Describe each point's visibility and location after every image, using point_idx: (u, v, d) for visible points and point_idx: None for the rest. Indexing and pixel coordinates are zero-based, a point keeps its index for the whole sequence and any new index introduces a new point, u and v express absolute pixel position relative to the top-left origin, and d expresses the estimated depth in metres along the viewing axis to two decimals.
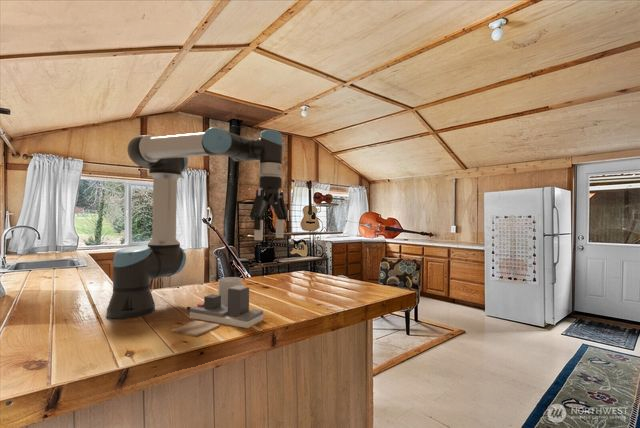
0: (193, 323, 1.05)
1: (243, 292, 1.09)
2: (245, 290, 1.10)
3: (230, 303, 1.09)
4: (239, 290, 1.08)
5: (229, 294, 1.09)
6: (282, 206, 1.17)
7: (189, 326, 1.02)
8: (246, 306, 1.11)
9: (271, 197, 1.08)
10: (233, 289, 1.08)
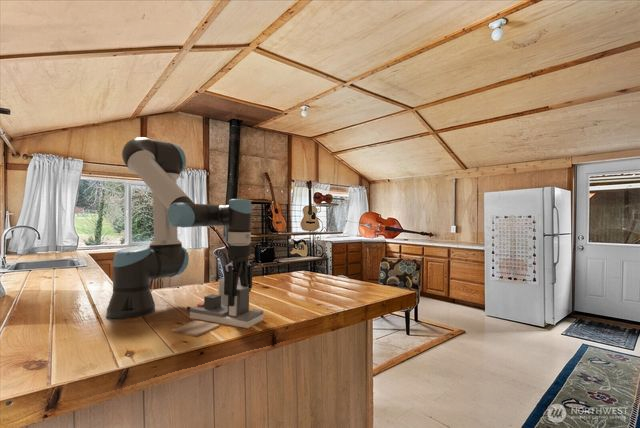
0: (193, 323, 1.05)
1: (243, 292, 1.09)
2: (245, 290, 1.10)
3: None
4: (239, 290, 1.08)
5: None
6: (249, 275, 1.15)
7: (189, 326, 1.02)
8: (246, 306, 1.11)
9: (240, 267, 1.08)
10: None
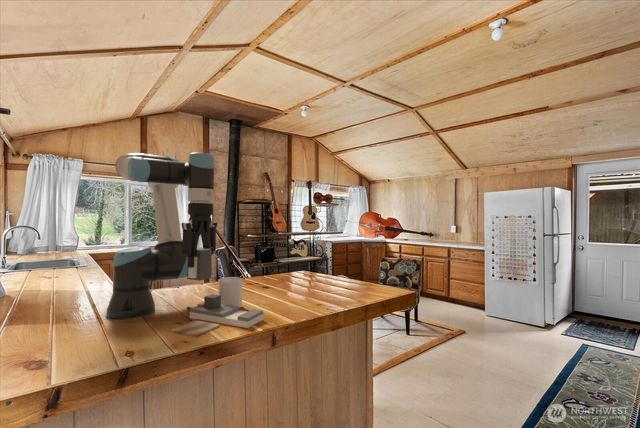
0: (193, 323, 1.05)
1: (204, 253, 1.01)
2: (207, 251, 1.02)
3: None
4: (199, 251, 1.00)
5: None
6: (212, 237, 1.07)
7: (189, 326, 1.02)
8: (208, 269, 1.03)
9: (200, 226, 1.01)
10: None
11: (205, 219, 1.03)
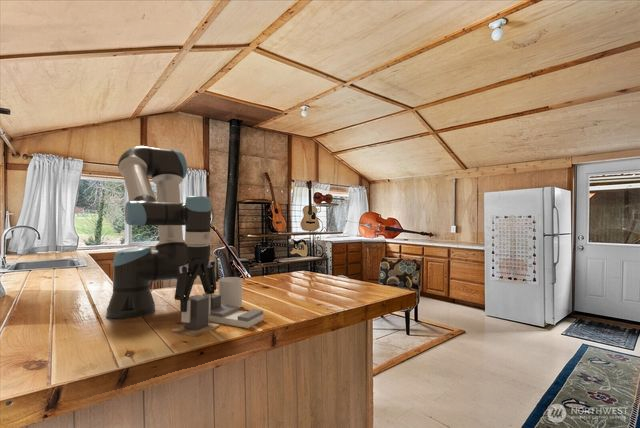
0: None
1: (201, 302, 1.00)
2: (203, 300, 1.01)
3: None
4: (196, 300, 0.99)
5: None
6: (211, 277, 1.07)
7: None
8: (205, 317, 1.02)
9: (197, 270, 1.00)
10: (190, 299, 1.00)
11: (202, 263, 1.03)
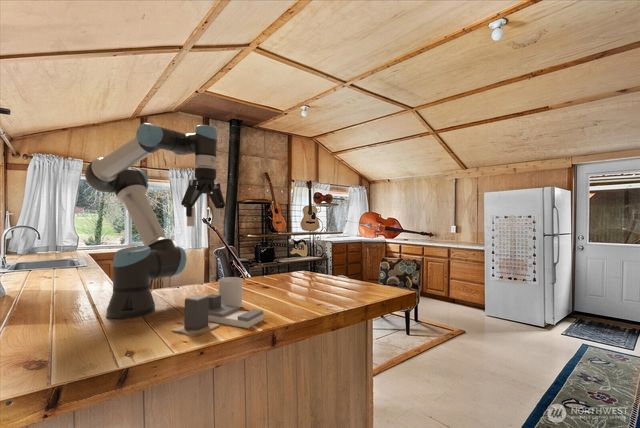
0: None
1: (201, 302, 1.00)
2: (203, 300, 1.01)
3: (187, 315, 1.00)
4: (196, 300, 0.99)
5: (186, 305, 1.01)
6: (219, 196, 1.27)
7: None
8: (205, 317, 1.02)
9: (204, 187, 1.18)
10: (190, 299, 1.00)
11: (209, 185, 1.21)
